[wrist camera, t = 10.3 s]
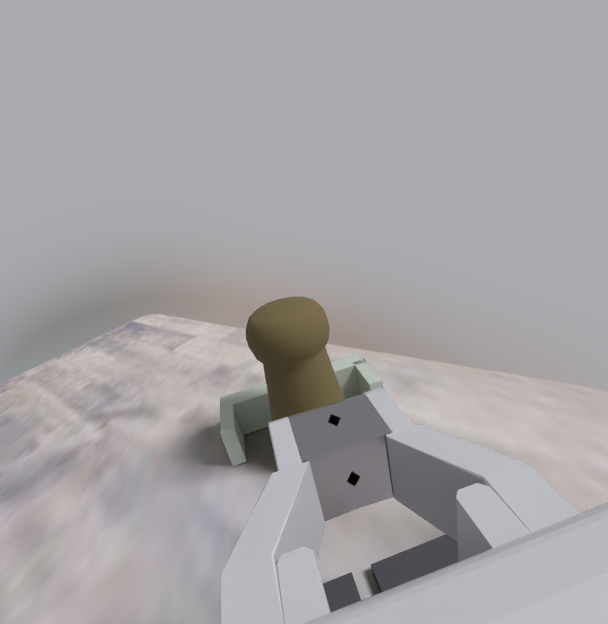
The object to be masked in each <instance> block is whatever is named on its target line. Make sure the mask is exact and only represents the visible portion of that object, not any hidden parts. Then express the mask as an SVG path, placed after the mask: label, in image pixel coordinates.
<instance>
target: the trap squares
mask: <svg viewBox="0 0 608 624" xmlns="http://www.w3.org/2000/svg"><path fill="white" fill-rule="evenodd" d="M457 562H459V559H458V542H457V541H455V540H454V539H452V538H451V537H449V536H448V535H447V534H446V535H443V536H441V537H438V538H436V539H433V540H431V541H428V542H426V543H423V544H421V545H418V546H416V547H413V548H411V549H408V550H406V551H403V552H401V553H398V554H396V555H393V556H391V557H388V558H386V559H383V560H381V561H379V562H376V563H374V564H371V566H372V571H373V573H374V576H375V578H376V581H377V583H378V586H379V588H380V591H381V592H384V591H386V590H389V589H392V588H394V587H397V586H399V585H402V584H404V583H407V582H409V581H412V580H414V579H417V578H419V577H422V576H424V575H427V574H429V573H432V572H434V571H437V570H440V569H442V568H445V567H447V566H450V565H452V564H455V563H457ZM323 586H324V590H325V594H326V597H327V601H328V604H329V608H330V611H331V612H333V611H336V610H339V609H341V608H344V607H346V606H349V605H351V604H354V603H356V602H359V601H361V599H360V596H359V593H358V590H357V587H356V584H355V581H354V578H353V575H352V572H351V573H349V574H346V575H344V576H341V577H339V578H336V579H334V580H331V581H329V582H326V583H324V584H323Z"/></svg>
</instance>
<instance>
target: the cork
mask: <svg viewBox="0 0 608 624" xmlns="http://www.w3.org/2000/svg"><path fill="white" fill-rule="evenodd" d="M328 338H329V324H328V319H327V316H326V314H325V312H324V310H323V308H322V307H321V306H320V305H319V304H318V303H317V302H316V301H314V300H312V299H309V298H305V297H289V298H283V299H279V300H275V301H272V302H270V303H267V304H265V305H263V306H261V307H260V308H258V309H257V310H256V311H255V312H254V313H253V314H252V315H251V316H250V317H249V320H248V323H247V327H246V339H247V342H248V345H249V348H250V349H251V351H252V352H253V354H254V356H255V357H256V359H257V360H259V361H260V362H262V363H263V365H264V372H265V378H266V385H267V391H268V398H269V405H270V411H271V418H272V421H275V420H278V419H282V418H285V417H288V418H289V416H291V415H295V414H298V413H301V412H305V411H308V410H312V409H315V408H319V407H322V406H327V405H330V404H333V403H336V402H339V401H342V400H345V398H344V396H343V393H342V390H341V388H340V385H339V383H338V380H337V377H336V375H335V372H334V369H333V367H332V364H331V362H330V359H329V356H328V354H327V351H326V348H325V346H326V344H327V341H328Z"/></svg>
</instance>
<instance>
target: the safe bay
mask: <svg viewBox="0 0 608 624" xmlns="http://www.w3.org/2000/svg"><path fill="white" fill-rule="evenodd" d="M331 364H332V367H333V369H334V372H335V375H336V377H337V380H338V383H339V385H340V388H341V390H342V393H343V396H344V398H345V399H348V398H352V397H355V396H358V395H361V394H363V393H365V392H368V391H371V390H374V389H377V388H379V387H381V388H383V382H382V379H381V378H380V377H379V376H378V375H377V373H376V372H375V371H374V370H373V369H372V368H371V366H370V365H369V364H368V363H367V362H366V360H365V359H364V358H363V357H362V356H361V354H356V355H353V356H350V357H347V358H344V359H341V360H338V361H334V362H331ZM269 422H272V418H271V411H270V405H269V398H268V391H267V385H266V383H265V384H262V385H259V386H256V387H253V388H250V389H246V390H243V391H240V392H237V393H234V394H231V395H227V396H224V397H221V398H220V435H221V437H222V440H223V442H224V445H225V447H226V450H227V452H228V455H229V458H230V460H231V463H232V465H233V466H236V465H239V464H241V463H244V462H247V461H246V451H245V442H244V435H245V434H248V433H251V432H254V431H257V430H260V429H263V428H266V427H268V423H269Z"/></svg>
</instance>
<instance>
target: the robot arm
mask: <svg viewBox="0 0 608 624" xmlns="http://www.w3.org/2000/svg"><path fill="white" fill-rule="evenodd" d="M268 427H269V432H270V437H271V442H272V446H273V451H274V456H275V461H276V466H277V470H278V471H277V472H274V473H272V474H271V476H270V478H269V480H268V482H267V484H266V486H265V488H264V490H263V492H262V494H261V496H260V498H259V500H258V502H257V504H256V506H255V508H254V510H253V512H252V514H251V516H250V518H249V520H248V522H247V523H246V525H245V527H244V529H243V531H242V533H241V535H240V537H239V539H238V541H237V543H236V545H235V547H234V549H233V551H232V553H231V555H230V557H229V559H228V561H227V563H226V565H225V567H224V569H223V571H222V573H221V624H608V502H607V503H605V504H602V505H600V506H597V507H595V508H592V509H590V510H587V511H585V512H582V513H580V512H578V511H577V510H576V509H575V508H574V507H573V506H572V505H571V504H570V503H569V502H568V501H567V500H565V499H564V498H563V497H562V496H561V495H560V494H559V493H558V492H557V491H556V490H555V489H554V488H552V487H551V486H550V485H549V484H548V483H547V482H546V481H545V480H544V479H543V478H542V477H541V476H539V475H538V474H537V473H536V472H535V471H534V470H533V469H532V468H531V467H530V466H529V465H528V464H526V463H524V462H521V461H518V460H516V459H513V458H510V457H508V456H505V455H502V454H500V453H497V452H494V451H491V450H489V449H486V448H483V447H481V446H478V445H475V444H472V443H470V442H467V441H464V440H462V439H459V438H456V437H453V436H451V435H448V434H445V433H443V432H440V431H437V430H435V429H432V428H429V427H426V426H424V425H421V424H418V425H415V426H414V425H413V424H412V423H411V422H410V420H409V419H408V418H407V417H406V415H405V414H404V413H403V412H402V410H401V409H400V408H399V407H398V405H397V404H396V403H395V402H394V401H393V399H392V398H391V397H390V396H389V394H388V393H387V392H386V391H385V389H384V388H381V387H379V388H377V389H374V390H371V391H368V392H365V393H363V394H361V395H358V396H355V397H352V398H348V399H345V400H342V401H339V402H336V403H333V404H330V405H327V406H322V407H319V408H315V409H312V410H308V411H305V412H301V413H298V414H295V415H291V416H289V418H288V417H285V418H282V419H278V420H275V421H272V422H269V423H268ZM391 497H394V499H396V500H397V501H399V502H400V503H402V504H403V505H405V506H406V507H407V508H409V509H410V510H412V511H413V512H415V513H416V514H418V515H419V516H420V517H422V518H423V519H425V520H426V521H428V522H429V523H431V524H432V525H434V526H435V527H436V528H438V529H439V530H441V531H442V532H444V533H445V534H447V535H448V536H449V537H451V538H452V539H454V540H455V541H457V542H458V559H459V562H457V563H455V564H452V565H450V566H447V567H445V568H442V569H440V570H437V571H434V572H432V573H429V574H427V575H424V576H422V577H419V578H417V579H414V580H412V581H409V582H407V583H404V584H402V585H399V586H397V587H394V588H392V589H389V590H386V591H384V592H381V593H379V594H376V595H374V596H371V597H369V598H366V599H364V600H361V601H359V602H356V603H354V604H351V605H349V606H346V607H344V608H341V609H339V610H336V611H333V612H331V611H330V608H329V604H328V601H327V597H326V594H325V590H324V586H323V583H322V579H321V576H320V572H319V569H318V565H317V558H318V554H319V550H320V545H321V541H322V536H323V532H324V527H325V521H327V520H330V519H332V518H335V517H337V516H340V515H342V514H345V513H347V512H350V511H352V510H355V509H358V508H360V507H363V506H366V505H370V504H373V503H376V502H379V501H382V500H385V499H388V498H391Z"/></svg>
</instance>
